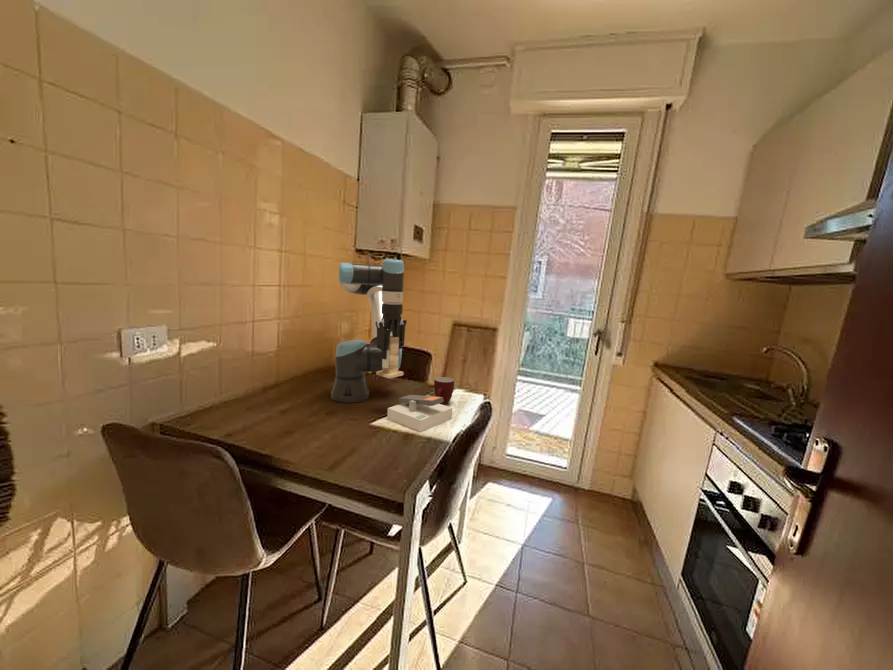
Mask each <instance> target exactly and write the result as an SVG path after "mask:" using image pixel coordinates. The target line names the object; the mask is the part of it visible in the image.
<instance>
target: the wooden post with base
mask: <svg viewBox="0 0 893 670" xmlns="http://www.w3.org/2000/svg"><path fill="white" fill-rule="evenodd" d="M384 347H385V346H384ZM388 350H389V368H384V367H382V370H381V371H377V372H375V373H376V376H380V377H384V378H387V379H394V378H397V377H402V376H404V375H405V374H404V371H401V370H399V369H398V351H399V337H394V336H390V338H389V345H388Z"/></svg>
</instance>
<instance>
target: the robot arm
mask: <svg viewBox="0 0 893 670" xmlns="http://www.w3.org/2000/svg"><path fill="white" fill-rule="evenodd" d="M404 263H405V262H404V261H403V260H400V259H390V258H389V259H388V258H386V259H385V258H384V259H383V261H382V264H371V263H353V262H341V263H339V265H338V281H339V284H340V286H341V287H342V289H343V290H345V292H346V291H347V292H348V293H352V294H355V295H362V296H365V295H366V298H367V299H368V300H369V301H370V313H371V329H372V331H371V332H372V338H371V340H370V341H369V343H367V342H366V340H364V339H352V340H351V339H350V340H344V341H342V342H339V343H338V344H337V345H336V348H335V355H334V357H335V380H334V383H333V386H332V389H331V392H330V398H331V400H333V401H334V402H338V403H344V404H345V403H349V404H350V403H359V402H362V401H366V400H368V399H369V398H370V397H369V396H370V391H369V389H368V388H369V387H368V384H367V380H366V373H376V372H377V371H381V370H382V367H384V368H389V350H388V345H389V338H390V336H394V337H399V351H398V370H399V369H400V368H401V364H402V363H401V362H402V354H403V347H404V346H405V337H406V336H405V334H406V325H407V320H406V319H402V315H403V308H404V307H403V304H402V303H403V302H404V300H403V299H404V278H405V276H404V275H405V273H404V272H405V265H404ZM384 346H385V347H384Z"/></svg>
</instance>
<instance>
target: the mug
mask: <svg viewBox="0 0 893 670" xmlns="http://www.w3.org/2000/svg"><path fill="white" fill-rule="evenodd" d="M433 381H434V382H433V389H434V394H435V396H434V397H443V400H444V402H442V403H439V404H442V405H445V406H447V405H448V404H449V402H450V400H452V396H453V392H454V388H455V379H454V378H452V377H448V376H438V377H434V380H433Z"/></svg>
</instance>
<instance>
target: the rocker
mask: <svg viewBox="0 0 893 670" xmlns="http://www.w3.org/2000/svg"><path fill="white" fill-rule="evenodd" d="M411 400H413V401H416V404H419V405H428V406H434V405H437V404H439V403H442V402H444V400H443V397H436V396H432V395H429V396H426V395H421V394H420V395H419V394H408V395H405V396H402V397H398V403H400V404H402V403H409V401H411Z"/></svg>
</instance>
